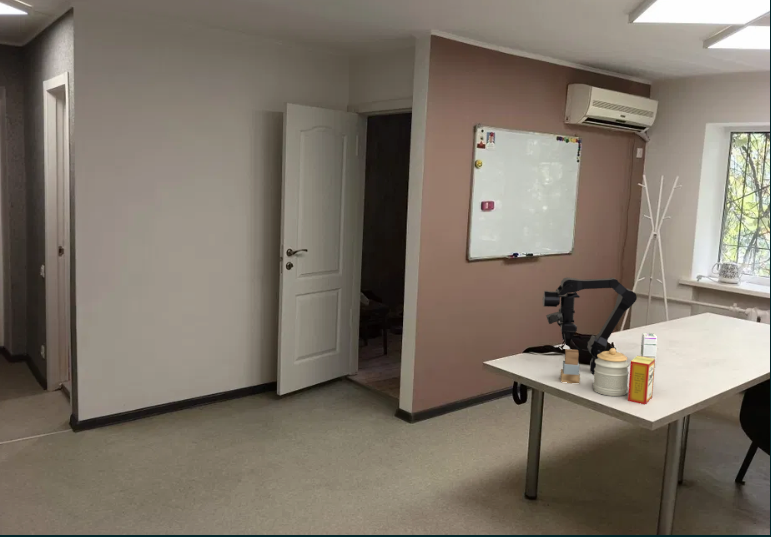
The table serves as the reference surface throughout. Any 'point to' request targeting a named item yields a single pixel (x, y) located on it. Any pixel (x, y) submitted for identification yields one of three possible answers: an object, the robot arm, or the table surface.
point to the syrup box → (649, 345)
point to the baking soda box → (641, 379)
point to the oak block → (569, 378)
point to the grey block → (570, 369)
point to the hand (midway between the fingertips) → (565, 342)
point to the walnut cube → (571, 357)
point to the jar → (611, 373)
